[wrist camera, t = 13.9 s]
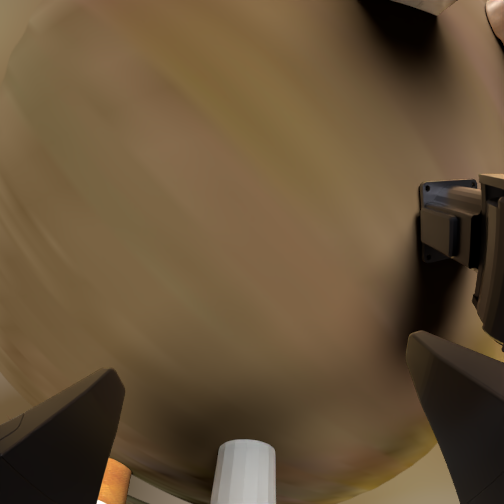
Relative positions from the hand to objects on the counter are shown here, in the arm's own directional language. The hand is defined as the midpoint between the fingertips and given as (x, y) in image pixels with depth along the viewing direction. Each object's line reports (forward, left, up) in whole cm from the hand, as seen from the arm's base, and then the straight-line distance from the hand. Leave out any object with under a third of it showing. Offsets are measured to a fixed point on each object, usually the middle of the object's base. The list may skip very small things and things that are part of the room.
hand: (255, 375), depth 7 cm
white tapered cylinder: (+6, +26, -13) cm, 30 cm away
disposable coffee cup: (+32, +36, -13) cm, 50 cm away
